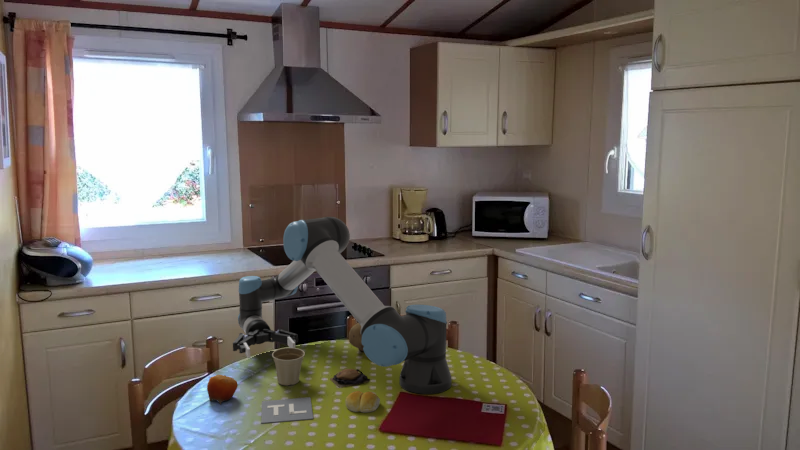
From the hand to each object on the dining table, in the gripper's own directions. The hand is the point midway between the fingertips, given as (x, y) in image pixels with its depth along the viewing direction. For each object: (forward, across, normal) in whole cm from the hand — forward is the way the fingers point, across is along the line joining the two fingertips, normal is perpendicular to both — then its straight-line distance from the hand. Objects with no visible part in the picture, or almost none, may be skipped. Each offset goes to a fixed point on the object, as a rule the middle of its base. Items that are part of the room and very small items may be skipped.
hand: (271, 350), depth 184 cm
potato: (-8, -32, -8) cm, 34 cm away
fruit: (+11, +16, -8) cm, 22 cm away
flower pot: (+7, -3, -8) cm, 11 cm away
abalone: (+13, -20, -8) cm, 25 cm away
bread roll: (+31, -17, -8) cm, 36 cm away
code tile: (+25, +2, -8) cm, 27 cm away
